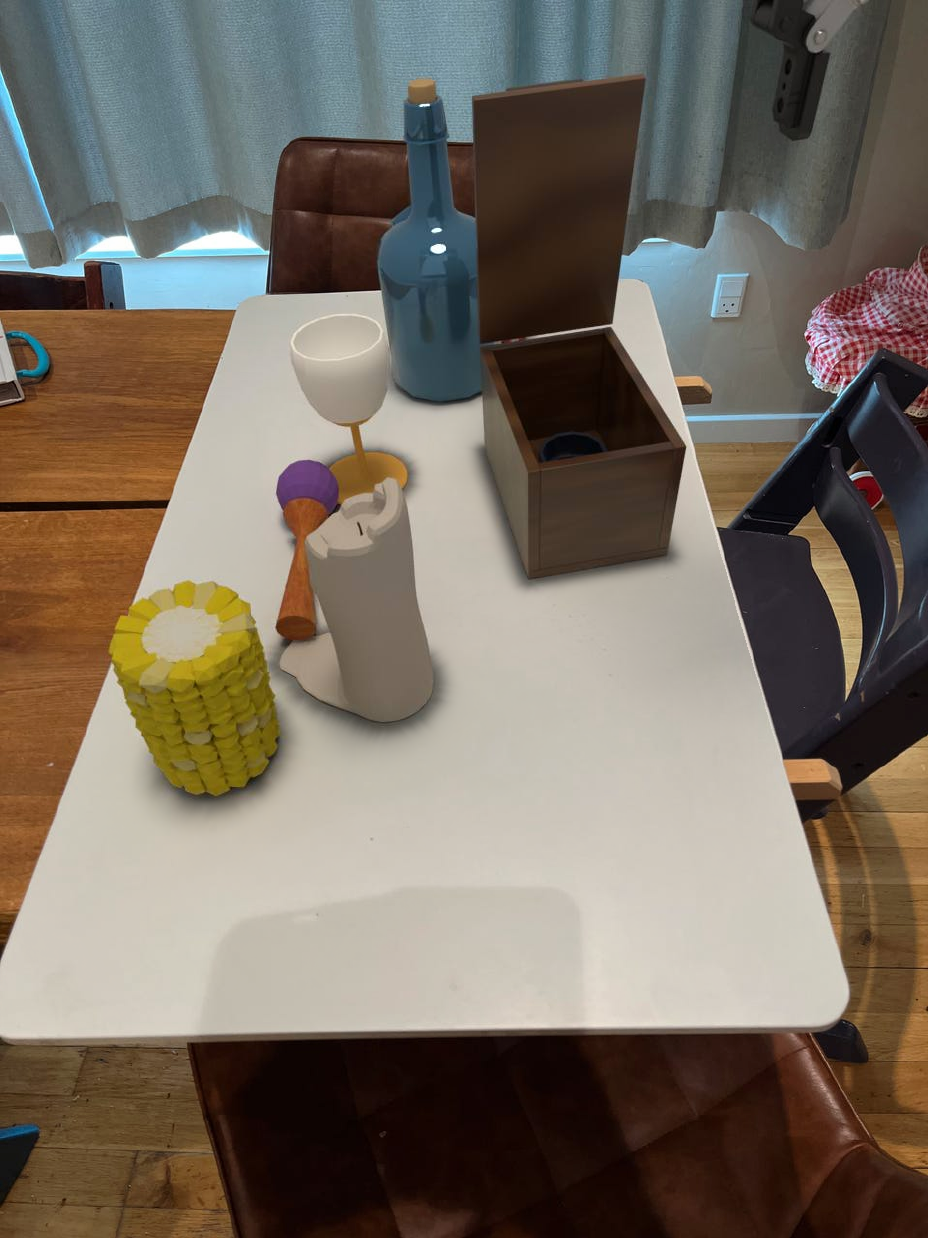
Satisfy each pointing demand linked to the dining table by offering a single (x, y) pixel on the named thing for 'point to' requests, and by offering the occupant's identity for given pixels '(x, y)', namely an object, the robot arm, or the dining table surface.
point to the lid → (552, 203)
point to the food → (197, 685)
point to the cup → (347, 390)
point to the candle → (365, 612)
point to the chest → (586, 485)
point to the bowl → (569, 446)
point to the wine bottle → (431, 267)
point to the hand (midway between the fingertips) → (872, 125)
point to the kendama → (303, 539)
